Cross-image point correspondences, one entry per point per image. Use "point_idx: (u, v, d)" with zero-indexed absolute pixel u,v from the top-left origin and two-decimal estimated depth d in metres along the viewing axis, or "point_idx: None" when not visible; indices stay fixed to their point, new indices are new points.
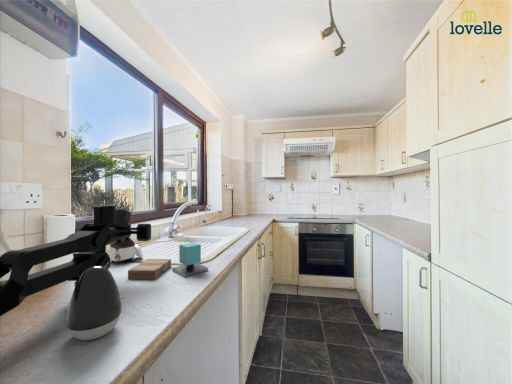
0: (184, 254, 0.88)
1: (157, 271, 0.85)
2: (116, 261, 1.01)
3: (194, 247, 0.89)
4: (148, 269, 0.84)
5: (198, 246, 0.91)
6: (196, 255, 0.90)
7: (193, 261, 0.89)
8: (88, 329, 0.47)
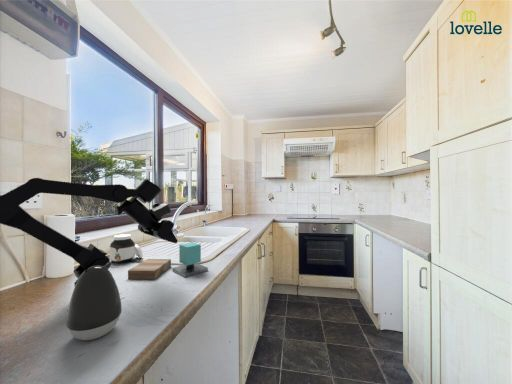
0: (184, 254, 0.88)
1: (157, 271, 0.85)
2: (116, 261, 1.01)
3: (194, 247, 0.89)
4: (148, 269, 0.84)
5: (198, 246, 0.91)
6: (196, 255, 0.90)
7: (193, 261, 0.89)
8: (88, 329, 0.47)
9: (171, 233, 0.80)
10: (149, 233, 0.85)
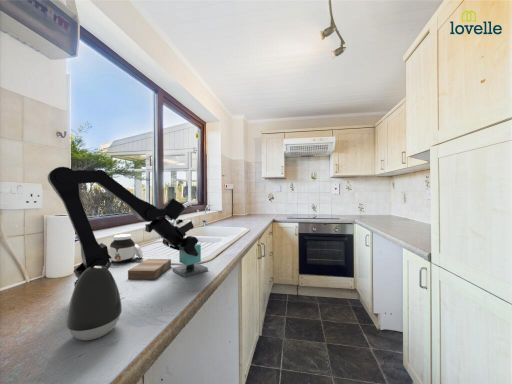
0: (184, 254, 0.88)
1: (157, 271, 0.85)
2: (116, 261, 1.01)
3: None
4: (148, 269, 0.84)
5: (198, 246, 0.91)
6: None
7: (193, 261, 0.89)
8: (88, 329, 0.47)
9: (193, 247, 0.87)
10: (175, 248, 0.91)
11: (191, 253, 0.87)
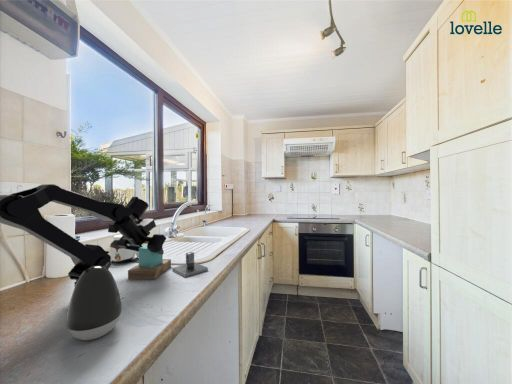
0: (147, 257, 0.87)
1: (157, 271, 0.85)
2: (116, 261, 1.01)
3: None
4: (148, 269, 0.84)
5: None
6: (158, 256, 0.90)
7: (156, 262, 0.89)
8: (88, 329, 0.47)
9: None
10: (131, 248, 0.88)
11: (159, 252, 0.86)
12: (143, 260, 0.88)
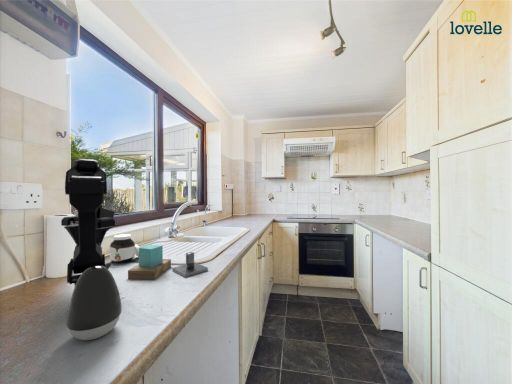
0: (147, 257, 0.87)
1: (157, 271, 0.85)
2: (116, 261, 1.01)
3: (157, 248, 0.89)
4: (148, 269, 0.84)
5: (160, 247, 0.91)
6: (158, 256, 0.90)
7: (156, 262, 0.89)
8: (88, 329, 0.47)
9: (103, 234, 0.76)
10: (71, 229, 0.77)
11: (97, 238, 0.75)
12: (143, 260, 0.88)
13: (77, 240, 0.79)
